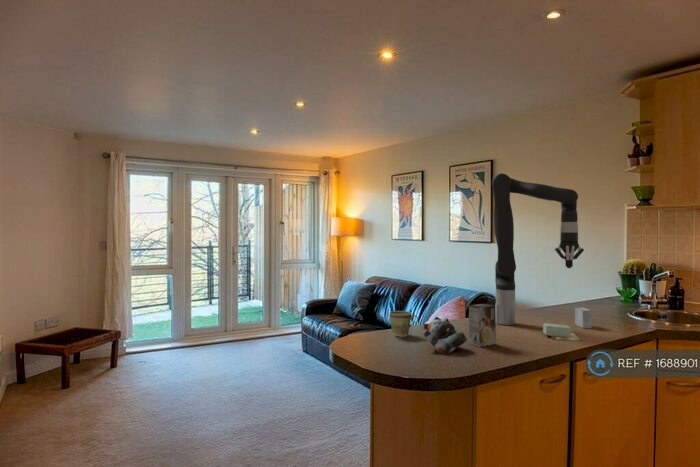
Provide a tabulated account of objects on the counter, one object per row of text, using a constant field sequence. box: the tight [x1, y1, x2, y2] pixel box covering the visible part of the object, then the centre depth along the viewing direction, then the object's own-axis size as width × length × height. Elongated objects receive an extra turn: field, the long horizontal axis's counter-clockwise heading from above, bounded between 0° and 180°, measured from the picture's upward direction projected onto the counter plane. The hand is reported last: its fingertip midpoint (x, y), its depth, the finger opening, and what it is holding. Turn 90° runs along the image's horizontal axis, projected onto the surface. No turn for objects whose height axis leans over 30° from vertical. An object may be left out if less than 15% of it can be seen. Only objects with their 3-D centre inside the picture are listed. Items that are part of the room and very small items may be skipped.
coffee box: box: [468, 303, 497, 348], centre depth 178 cm, size 9×6×16 cm
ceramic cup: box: [389, 310, 419, 338], centre depth 193 cm, size 13×10×10 cm
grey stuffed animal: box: [422, 316, 468, 355], centre depth 171 cm, size 15×12×14 cm
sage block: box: [542, 322, 572, 337], centre depth 191 cm, size 4×6×10 cm
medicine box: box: [574, 307, 593, 329], centre depth 211 cm, size 8×4×9 cm, turn 179°
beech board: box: [548, 332, 582, 342], centre depth 190 cm, size 11×12×1 cm
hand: (569, 267), depth 206 cm, fingers closed
